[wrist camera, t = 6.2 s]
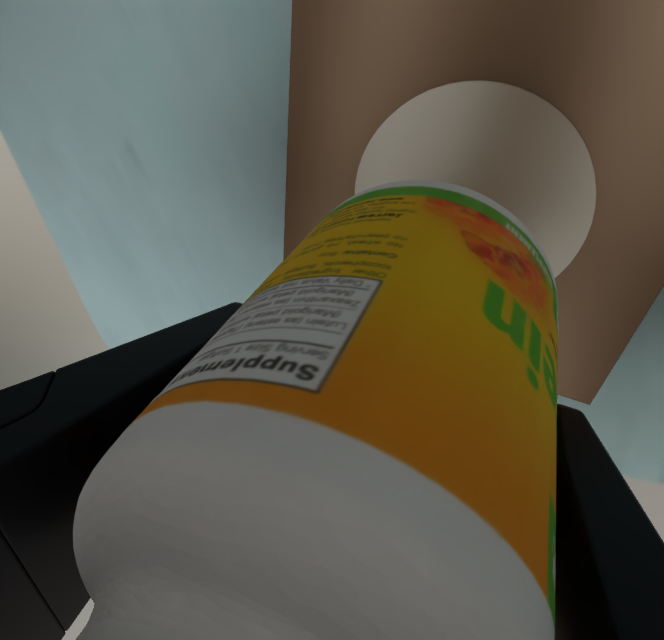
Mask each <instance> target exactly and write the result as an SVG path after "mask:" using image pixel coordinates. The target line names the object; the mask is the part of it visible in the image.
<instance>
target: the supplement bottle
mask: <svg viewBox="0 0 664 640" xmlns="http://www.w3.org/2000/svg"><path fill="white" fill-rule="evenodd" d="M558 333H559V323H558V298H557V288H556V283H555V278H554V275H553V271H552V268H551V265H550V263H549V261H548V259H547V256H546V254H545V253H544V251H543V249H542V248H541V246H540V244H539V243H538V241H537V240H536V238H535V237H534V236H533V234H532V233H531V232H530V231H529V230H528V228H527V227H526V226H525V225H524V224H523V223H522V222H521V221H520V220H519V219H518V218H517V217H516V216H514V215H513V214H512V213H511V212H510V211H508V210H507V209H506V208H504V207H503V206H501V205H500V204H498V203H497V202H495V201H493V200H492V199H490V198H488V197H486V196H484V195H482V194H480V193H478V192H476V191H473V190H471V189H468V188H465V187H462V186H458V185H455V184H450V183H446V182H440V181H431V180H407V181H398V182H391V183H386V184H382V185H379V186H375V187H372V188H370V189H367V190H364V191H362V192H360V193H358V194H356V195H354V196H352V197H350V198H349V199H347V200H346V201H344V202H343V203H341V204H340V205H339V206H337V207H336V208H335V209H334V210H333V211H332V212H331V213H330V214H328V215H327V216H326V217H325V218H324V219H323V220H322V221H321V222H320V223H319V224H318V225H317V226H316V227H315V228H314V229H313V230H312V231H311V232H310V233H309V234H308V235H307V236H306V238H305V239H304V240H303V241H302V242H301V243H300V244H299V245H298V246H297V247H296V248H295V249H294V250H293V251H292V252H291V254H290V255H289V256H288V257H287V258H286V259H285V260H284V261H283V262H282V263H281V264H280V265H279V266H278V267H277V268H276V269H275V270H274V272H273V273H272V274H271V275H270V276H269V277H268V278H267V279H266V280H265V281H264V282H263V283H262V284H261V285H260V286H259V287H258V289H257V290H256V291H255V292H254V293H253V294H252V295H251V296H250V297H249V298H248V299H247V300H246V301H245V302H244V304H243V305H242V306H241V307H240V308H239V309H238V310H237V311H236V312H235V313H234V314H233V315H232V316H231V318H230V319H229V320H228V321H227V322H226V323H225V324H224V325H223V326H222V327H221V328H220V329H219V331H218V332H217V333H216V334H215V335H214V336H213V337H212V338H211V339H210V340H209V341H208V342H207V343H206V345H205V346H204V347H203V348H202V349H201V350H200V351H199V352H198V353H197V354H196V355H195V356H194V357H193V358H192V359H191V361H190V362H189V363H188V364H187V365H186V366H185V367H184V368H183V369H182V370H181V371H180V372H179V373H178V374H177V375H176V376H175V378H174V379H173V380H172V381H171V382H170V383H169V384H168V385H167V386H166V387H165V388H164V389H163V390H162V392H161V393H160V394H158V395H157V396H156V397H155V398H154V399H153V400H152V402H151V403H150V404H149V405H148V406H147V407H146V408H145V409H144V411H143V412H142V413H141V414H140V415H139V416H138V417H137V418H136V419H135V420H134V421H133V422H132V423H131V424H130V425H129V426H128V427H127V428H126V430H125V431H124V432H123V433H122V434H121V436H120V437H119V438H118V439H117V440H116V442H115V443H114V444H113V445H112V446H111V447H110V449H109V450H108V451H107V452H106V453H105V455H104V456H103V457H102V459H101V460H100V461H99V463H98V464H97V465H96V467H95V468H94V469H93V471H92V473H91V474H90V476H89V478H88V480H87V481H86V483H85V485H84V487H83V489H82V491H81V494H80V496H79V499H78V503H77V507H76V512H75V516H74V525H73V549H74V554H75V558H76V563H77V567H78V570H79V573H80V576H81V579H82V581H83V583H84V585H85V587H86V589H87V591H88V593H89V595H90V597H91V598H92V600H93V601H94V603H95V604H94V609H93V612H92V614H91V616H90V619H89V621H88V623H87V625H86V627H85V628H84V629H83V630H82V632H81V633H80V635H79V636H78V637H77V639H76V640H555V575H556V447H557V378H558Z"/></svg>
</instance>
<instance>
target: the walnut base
mask: <svg viewBox="0 0 664 640" xmlns="http://www.w3.org/2000/svg"><path fill="white" fill-rule="evenodd" d="M407 180H431V181H440V182H446V183H450V184H455V185H458V186H462V187H465V188H468V189H471V190H473V191H476V192H478V193H480V194H482V195H484V196H486V197H488V198H490V199H492V200H493V201H495V202H497V203H498V204H500V205H501V206H503V207H504V208H506V209H507V210H508V211H510V212H511V213H512V214H513V215H514V216H516V217H517V218H518V219H519V220H520V221H521V222H522V223H523V224H524V225H525V226H526V227H527V228H528V230H529V231H530V232H531V233H532V234H533V236H534V237H535V238H536V240H537V241H538V243H539V244H540V246H541V248H542V249H543V251H544V253H545V254H546V256H547V259H548V261H549V263H550V265H551V268H552V271H553V275H554V278H555V283H556V288H557V298H558V323H559V333H558V378H557V395H561V396H564V397H567V398H570V399H573V400H576V401H580V402H583V403H586V404H589V405H590V404H591V402H592V400H593V399H594V397H595V396H596V394H597V392H598V391H599V389H600V388H601V386H602V384H603V383H604V381H605V380H606V378H607V376H608V375H609V373H610V371H611V370H612V368H613V367H614V365H615V363H616V362H617V360H618V359H619V357H620V355H621V354H622V352H623V351H624V349H625V347H626V346H627V344H628V343H629V341H630V339H631V338H632V336H633V334H634V333H635V331H636V330H637V328H638V326H639V325H640V323H641V322H642V320H643V318H644V317H645V315H646V314H647V312H648V310H649V309H650V307H651V305H652V304H653V302H654V301H655V299H656V297H657V296H658V294H659V293H660V291H661V289H662V288H663V286H664V0H293V1H292V29H291V58H290V87H289V116H288V145H287V174H286V202H285V231H284V260H285V259H286V258H287V257H288V256H289V255H290V254H291V252H292V251H293V250H294V249H295V248H296V247H297V246H298V245H299V244H300V243H301V242H302V241H303V240H304V239H305V238H306V236H307V235H308V234H309V233H310V232H311V231H312V230H313V229H314V228H315V227H316V226H317V225H318V224H319V223H320V222H321V221H322V220H323V219H324V218H325V217H326V216H327V215H328V214H330V213H331V212H332V211H333V210H334V209H335V208H336V207H337V206H339V205H340V204H341V203H343V202H344V201H346V200H347V199H349V198H350V197H352V196H354V195H356V194H358V193H360V192H362V191H364V190H367V189H370V188H372V187H375V186H379V185H382V184H386V183H391V182H398V181H407ZM284 260H283V261H284Z"/></svg>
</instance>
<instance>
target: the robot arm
mask: <svg viewBox="0 0 664 640" xmlns="http://www.w3.org/2000/svg"><path fill="white" fill-rule="evenodd" d="M242 305H243V304H242V303H238V302H234V303H231V304H228V305H226V306H223V307H220V308H218V309H215V310H212V311H210V312H207V313H205V314H202V315H199V316H197V317H194V318H191V319H189V320H186V321H183V322H181V323H178V324H175V325H173V326H170V327H168V328H165V329H162V330H160V331H157V332H154V333H152V334H149V335H146V336H144V337H141V338H138V339H136V340H133V341H131V342H128V343H125V344H123V345H120V346H117V347H115V348H112V349H109V350H107V351H104V352H102V353H99V354H97V355H94V356H91V357H88V358H86V359H83V360H81V361H78V362H75V363H72V364H70V365H67V366H65V367H62V368H59V369H57V370H56V372H54V371H51V372H49V373H46V374H43V375H40V376H38V377H35V378H33V379H30V380H27V381H24V382H21V383H19V384H16V385H13V386H10V387H7V388H5V389H2V390H0V640H61V639H62V638H63V636H64V635H65V631H67V630H68V629H69V628H70V626H71V625H72V623H73V622H74V620H75V619H76V618H77V616H78V615H79V613H80V612H81V610H82V609H83V608H84V606H85V605H86V603H87V602H88V601H89V599H90V598H91V597H90V595H89V593H88V591H87V589H86V587H85V585H84V583H83V581H82V579H81V576H80V573H79V570H78V567H77V563H76V558H75V554H74V549H73V525H74V516H75V512H76V507H77V503H78V499H79V496H80V494H81V491H82V489H83V487H84V485H85V483H86V481H87V480H88V478H89V476H90V474H91V473H92V471H93V469H94V468H95V467H96V465H97V464H98V463H99V461H100V460H101V459H102V457H103V456H104V455H105V453H106V452H107V451H108V450H109V449H110V447H111V446H112V445H113V444H114V443H115V442H116V440H117V439H118V438H119V437H120V436H121V434H122V433H123V432H124V431H125V430H126V428H127V427H128V426H129V425H130V424H131V423H132V422H133V421H134V420H135V419H136V418H137V417H138V416H139V415H140V414H141V413H142V412H143V411H144V409H145V408H146V407H147V406H148V405H149V404H150V403H151V402H152V400H153V399H154V398H155V397H156V396H157V395H158V394H160V393H161V392H162V390H163V389H164V388H165V387H166V386H167V385H168V384H169V383H170V382H171V381H172V380H173V379H174V378H175V376H176V375H177V374H178V373H179V372H180V371H181V370H182V369H183V368H184V367H185V366H186V365H187V364H188V363H189V362H190V361H191V359H192V358H193V357H194V356H195V355H196V354H197V353H198V352H199V351H200V350H201V349H202V348H203V347H204V346H205V345H206V343H207V342H208V341H209V340H210V339H211V338H212V337H213V336H214V335H215V334H216V333H217V332H218V331H219V329H220V328H221V327H222V326H223V325H224V324H225V323H226V322H227V321H228V320H229V319H230V318H231V316H232V315H233V314H234V313H235V312H236V311H237V310H238V309H239V308H240V307H241V306H242ZM555 640H664V542H663V540H662V539H661V537H660V536H659V534H658V532H657V531H656V529H655V528H654V526H653V524H652V523H651V521H650V520H649V518H648V516H647V515H646V513H645V512H644V510H643V508H642V507H641V505H640V504H639V502H638V500H637V499H636V497H635V496H634V494H633V492H632V491H631V489H630V487H629V486H628V484H627V483H626V481H625V479H624V478H623V476H622V475H621V473H620V471H619V470H618V468H617V467H616V465H615V463H614V462H613V460H612V459H611V457H610V455H609V454H608V452H607V451H606V449H605V447H604V446H603V444H602V443H601V441H600V439H599V438H598V436H597V435H596V433H595V431H594V430H593V428H592V427H591V425H590V423H589V422H588V420H587V419H586V417H585V415H584V414H583V413H582V412H581V411H579V410H577V409H574V408H571V407H567V406H564V405H561V404H557V447H556V575H555Z"/></svg>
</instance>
